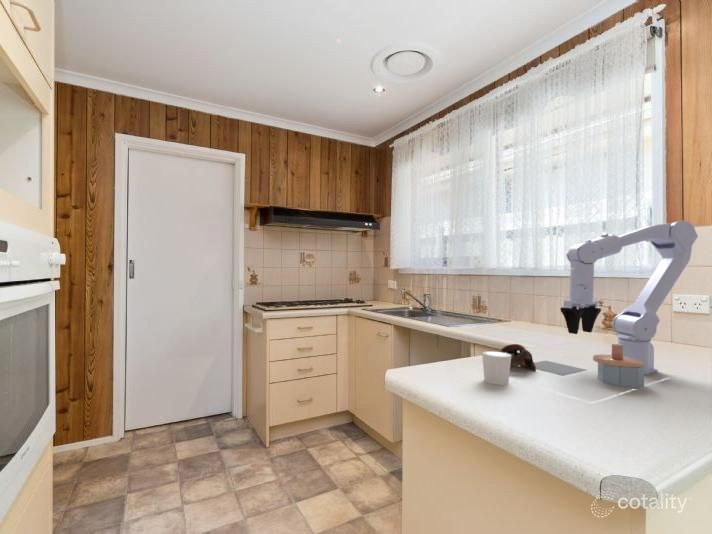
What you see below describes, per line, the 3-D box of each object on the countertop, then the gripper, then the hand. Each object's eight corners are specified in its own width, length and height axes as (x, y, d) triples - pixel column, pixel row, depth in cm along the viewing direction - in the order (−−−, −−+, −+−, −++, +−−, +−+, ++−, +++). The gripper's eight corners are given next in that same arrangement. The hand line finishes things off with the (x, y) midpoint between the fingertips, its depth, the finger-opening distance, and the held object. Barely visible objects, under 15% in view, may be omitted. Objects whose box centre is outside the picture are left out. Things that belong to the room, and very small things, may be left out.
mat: (545, 361, 114) (545, 360, 114) (586, 371, 104) (586, 369, 104) (521, 366, 108) (521, 365, 108) (562, 377, 97) (562, 375, 97)
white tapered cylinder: (515, 381, 93) (515, 353, 93) (504, 387, 88) (505, 358, 88) (488, 375, 97) (488, 349, 98) (477, 381, 92) (477, 353, 92)
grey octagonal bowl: (609, 376, 99) (609, 357, 99) (648, 385, 91) (649, 364, 91) (592, 380, 94) (592, 361, 94) (632, 390, 87) (632, 369, 87)
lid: (603, 355, 101) (603, 339, 101) (650, 364, 92) (650, 346, 92) (585, 360, 95) (585, 343, 95) (633, 369, 86) (633, 351, 86)
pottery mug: (544, 376, 99) (534, 351, 97) (511, 390, 100) (500, 365, 99) (525, 355, 111) (516, 332, 109) (496, 367, 112) (486, 345, 110)
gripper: (580, 284, 113) (579, 329, 113) (553, 284, 106) (552, 331, 106) (605, 286, 107) (604, 332, 107) (579, 285, 100) (577, 336, 100)
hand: (580, 332), depth 106 cm, fingers open, 7 cm apart
